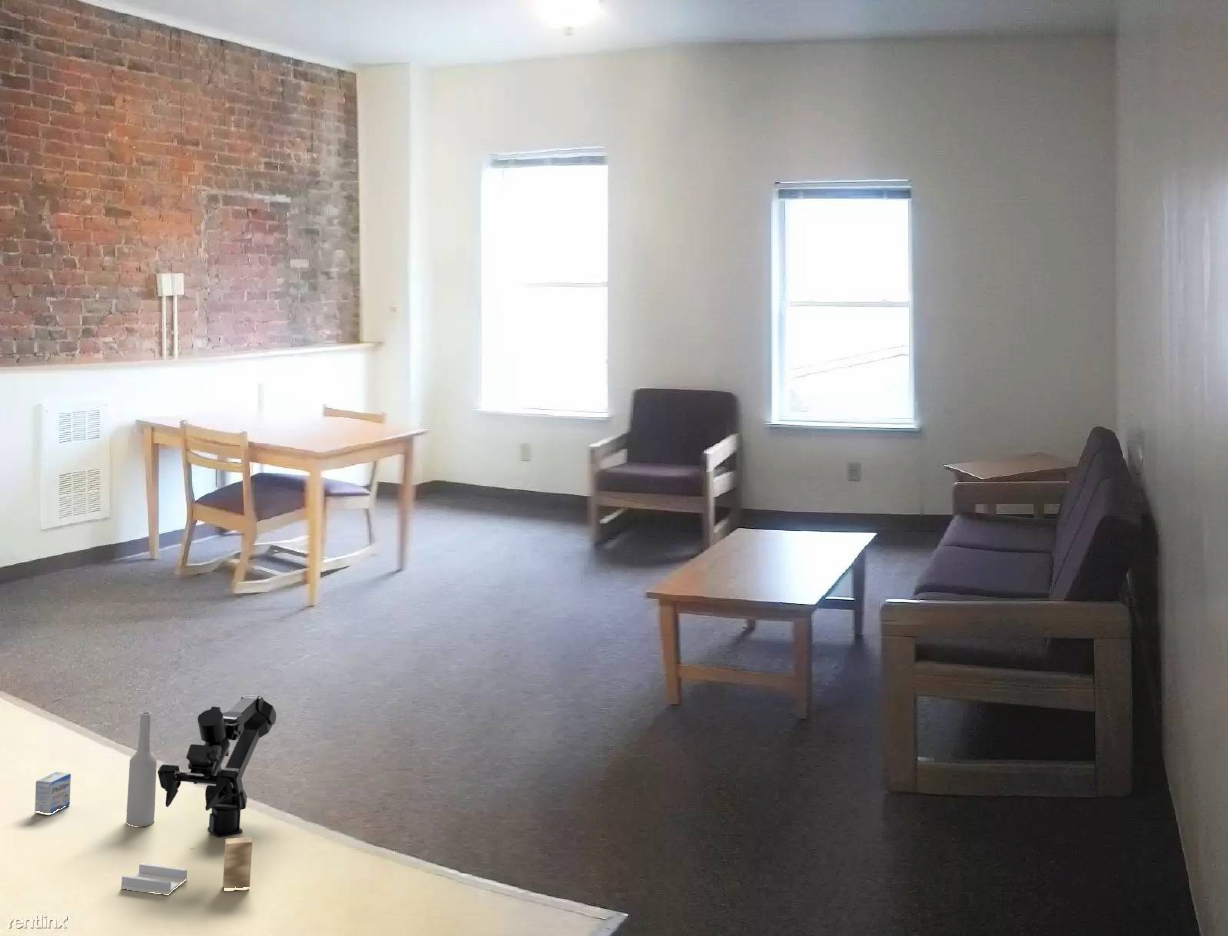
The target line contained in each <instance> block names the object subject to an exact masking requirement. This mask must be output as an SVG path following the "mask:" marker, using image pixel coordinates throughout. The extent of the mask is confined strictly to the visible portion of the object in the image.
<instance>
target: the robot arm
mask: <svg viewBox="0 0 1228 936" xmlns="http://www.w3.org/2000/svg"><path fill="white" fill-rule="evenodd" d="M196 720H197V724H198V725H197V726H198V730H199V735H200V740H201V741H203V742H204V744H195V743H193V744H192V743H191V744H190V745H189V747H188V751H187V753H186V756H185V758H186V759H187V760H188V761H189V762H188V764H187V769H189V770H190V771H181V770H180V766H179V765H175V764H164V763H163V764H162V765H160V766H159V768H158V770H157V776H158V780H159V784H160V788H161V789H164V791H165V792H166V794H165V795H166V796H165V807H166V808H168V807H170V805H171V804H172V802H173V801H174V799H175V797H176V796H177V794H178V792H179V790H178V789H179V788H180V786H181V784H182V782H187V783H193V784H195V785H202V786H206V787H205V788H206V789H205V793H204V794H205V795H204V797H205V807H204V808H205V811H207V812H208V811H209V810H211V813H210V814H209V817H208V818H209V819H208V820H209V822H208V826H207V830H208V831H209V832H210V833H212V834H213V835H215V836H216V837H218V838H221V837H226V836H230V835H235V834H240V833H243V830H244V829H243V828H241V826H240V825H241V813H242V810H245V809H247V804H248V803H247V802H248V795H247V793H246V791H245V788H244V785H243V776H244V774H245V772H246V769H247V766H248V764H249V762H250V760H251V758H252V756H253V753H254V751H255V749H256V746H257V745H258V742H259V740H260V739H261V738H263V737H265V735H268V734H269V733H270V731H271V729H272V728H273V726H274V725H275V723H276V721H277V711H276V709H275V707H274V706H273V705H272V704H270V703H269V702H267V701H266V700H264V697H263V696H260V695H258V694H257V695H256V694H245V695H244V694H243V695H242V696H241V698H240V699H239V701H238V702H237V703H236V704H234V705H233V707H231V709H229V710H228V711H225V712H222V710H221V707H220V706H211V708H210V709H206V710H204V711H203V712H201V713H200V714H198V716H197V719H196ZM230 741H236V743H235V746H234V747H233V750H232V752H231V754H230V751H229V750H230V747H231V743H230ZM229 755H230V756H229ZM226 757H229V759H228V760H227V763H226V765H225V767H224V769H223V768H222V764H223V762H224V760H225V758H226Z"/></svg>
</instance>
